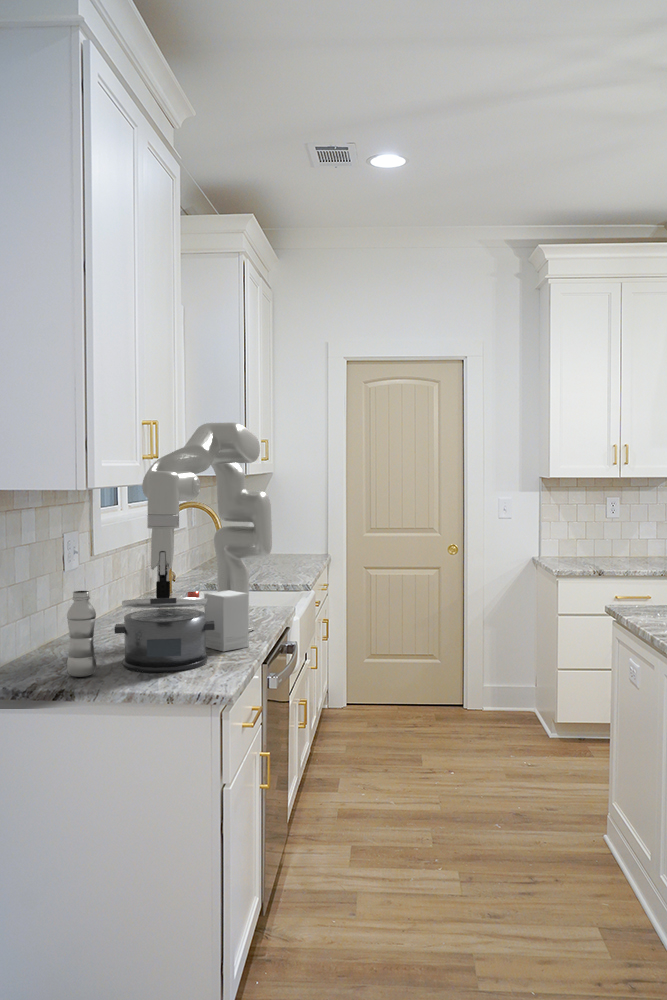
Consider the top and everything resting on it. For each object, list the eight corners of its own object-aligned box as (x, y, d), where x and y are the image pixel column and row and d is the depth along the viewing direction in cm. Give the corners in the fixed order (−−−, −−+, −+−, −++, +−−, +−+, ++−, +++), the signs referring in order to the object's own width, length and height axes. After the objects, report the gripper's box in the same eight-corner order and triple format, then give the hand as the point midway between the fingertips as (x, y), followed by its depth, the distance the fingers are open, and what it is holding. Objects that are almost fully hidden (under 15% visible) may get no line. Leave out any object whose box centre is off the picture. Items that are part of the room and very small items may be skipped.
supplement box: (250, 647, 217) (249, 592, 216) (223, 652, 211) (223, 596, 210) (230, 642, 223) (229, 589, 223) (203, 647, 217) (203, 592, 216)
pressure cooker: (119, 654, 208) (119, 608, 208) (213, 650, 213) (213, 605, 212) (111, 675, 187) (110, 624, 186) (215, 670, 191) (215, 620, 191)
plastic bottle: (74, 672, 190) (72, 589, 189) (101, 673, 189) (100, 589, 188) (62, 679, 183) (60, 593, 183) (90, 680, 183) (89, 594, 182)
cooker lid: (125, 608, 207) (125, 595, 207) (206, 606, 211) (206, 593, 211) (117, 605, 184) (117, 590, 185) (208, 602, 188) (208, 587, 189)
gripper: (149, 521, 198) (148, 594, 198) (145, 523, 183) (145, 602, 183) (179, 521, 199) (179, 593, 199) (178, 523, 184) (178, 602, 184)
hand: (163, 597), depth 191 cm, fingers closed
